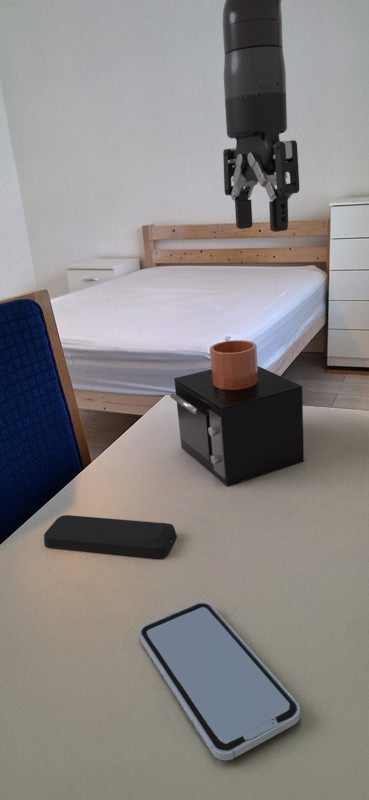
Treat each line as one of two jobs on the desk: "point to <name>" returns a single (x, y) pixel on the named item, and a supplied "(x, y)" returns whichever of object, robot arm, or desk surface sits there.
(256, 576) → the desk surface
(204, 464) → the toaster oven
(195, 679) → the smartphone
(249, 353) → the cup
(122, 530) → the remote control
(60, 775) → the desk surface
